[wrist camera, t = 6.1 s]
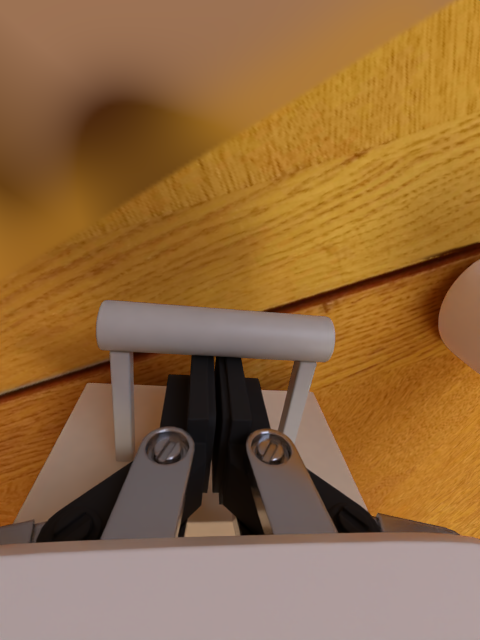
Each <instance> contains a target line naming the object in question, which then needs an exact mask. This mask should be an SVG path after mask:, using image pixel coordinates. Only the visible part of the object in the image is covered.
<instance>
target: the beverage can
mask: <svg viewBox="0 0 480 640" xmlns="http://www.w3.org/2000/svg"><path fill="white" fill-rule="evenodd" d="M438 327H439V333H440V337H441V339H442V341H443V343H444V344H445V345H446V346H447V348H448V349H449V350H450V351H451V352H453V353H454V354H455V355H456V356H457V357H458V358H460V359H461V360H462V361H463V362H465V363H466V364H467V365H468V366H470V367H471V368H472V369H473V370H475V371H476V372H477V373H479V374H480V259H479V260H477V261H476V262H475V263H473V264H472V265H471V266H470V267H468V268H467V269H466V270H465V271H464V272H463V273H462V274H461V275H460V276H459V277H458V278H457V279H456V281H455V282H454V283H453V285H452V286H451V287H450V289H449V291H448V292H447V294H446V296H445V298H444V300H443V302H442V305H441V308H440V312H439V318H438Z"/></svg>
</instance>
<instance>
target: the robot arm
mask: <svg viewBox="0 0 480 640" xmlns="http://www.w3.org/2000/svg"><path fill="white" fill-rule="evenodd" d="M211 460H212V492H213V493H219V505H223V506H225V507H226V508H227V509H228V510H229V511H230V512H231V513H232V514H233V515H232V520H233V527H234V531H235V536H210V537H185V536H186V531H187V525H188V518H189V517H190V516H191V515H192V514H193V513H194V512H195V511H196V510H197V509H198V508H199V507H200V506H201V503H202V495H203V493H207V491H208V484H209V476H210V468H211ZM0 640H480V539H478V538H474V537H468V536H461V535H459V534H458V533H456V532H455V531H453V530H450V529H447V528H445V527H440V526H435V525H431V524H426V523H422V522H417V521H412V520H408V519H403V518H399V517H394V516H389V515H385V514H380V513H378V514H377V516H376V517H374V516H371V515H370V513H369V512H368V511H366V510H365V509H364V508H363V507H362V506H360V505H359V504H357V503H356V502H355V501H353V500H352V499H350V498H349V497H347V496H346V495H345V494H343V493H342V492H340V491H339V490H337V489H336V488H334V487H333V486H332V485H330V484H329V483H327V482H326V481H324V480H323V479H322V478H320V477H319V476H317V475H316V474H314V473H313V472H311V471H310V470H309V469H307V468H306V467H305V465H304V463H303V461H302V459H301V457H300V455H299V453H298V451H297V449H296V447H295V445H294V443H293V442H292V440H291V439H290V438H289V437H288V436H286V435H285V434H283V433H282V432H280V431H277V430H273V429H271V428H270V424H269V420H268V415H267V411H266V407H265V403H264V399H263V395H262V391H261V387H260V383H259V380H258V379H257V378H245V377H244V371H243V366H242V360H241V358H237V357H219V356H216V362H215V371H214V356H200V355H192V359H191V372H190V375H171V374H169V375H168V381H167V387H166V393H165V399H164V405H163V410H162V416H161V422H160V428H157V429H155V430H153V431H151V432H150V433H149V434H147V435H146V436H145V437H144V439H143V440H142V442H141V444H140V446H139V448H138V451H137V453H136V456H135V458H134V460H133V461H132V462H130V463H129V464H127V465H126V466H124V467H123V468H121V469H120V470H118V471H117V472H115V473H114V474H112V475H111V476H109V477H108V478H106V479H105V480H103V481H102V482H100V483H99V484H97V485H96V486H95V487H93V488H92V489H90V490H89V491H87V492H86V493H84V494H83V495H81V496H80V497H78V498H77V499H75V500H74V501H72V502H71V503H69V504H68V505H66V506H65V507H63V508H62V509H60V510H59V511H58V512H56V513H55V514H54V515H53V516H52V517H50V518H49V519H48V521H45V522H41V523H36V524H35V520H34V519H33V520H29V521H24V522H20V523H15V524H11V525H6V526H2V527H0Z"/></svg>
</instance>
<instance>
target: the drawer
mask: <svg viewBox="0 0 480 640" xmlns="http://www.w3.org/2000/svg"><path fill="white" fill-rule="evenodd" d="M96 339H97V344H98V347H99V348H100V349H101V350H109V351H110V369H111V384H103V383H87V384H86V386H85V388H84V390H83V392H82V394H81V396H80V398H79V400H78V401H77V403H76V405H75V407H74V409H73V411H72V413H71V415H70V417H69V419H68V420H67V422H66V424H65V426H64V428H63V430H62V432H61V434H60V436H59V437H58V439H57V441H56V443H55V445H54V447H53V449H52V451H51V453H50V455H49V456H48V458H47V460H46V462H45V464H44V466H43V468H42V470H41V472H40V473H39V475H38V477H37V479H36V481H35V483H34V485H33V487H32V489H31V491H30V492H29V494H28V496H27V498H26V500H25V502H24V504H23V506H22V508H21V509H20V511H19V513H18V515H17V517H16V519H15V521H14V523H13V524H15V523H20V522H24V521H29V520H33V519H34V520H35V524H36V523H41V522H45V521H48V519H49V518H50V517H52V516H53V515H54V514H55V513H56V512H58V511H59V510H60V509H62V508H63V507H65V506H66V505H68V504H69V503H71V502H72V501H74V500H75V499H77V498H78V497H80V496H81V495H83V494H84V493H86V492H87V491H89V490H90V489H92V488H93V487H95V486H96V485H97V484H99V483H100V482H102V481H103V480H105V479H106V478H108V477H109V476H111V475H112V474H114V473H115V472H117V471H118V470H120V469H121V468H123V467H124V466H126V465H127V464H129V463H130V462H132V461H133V460H134V458H135V456H136V453H137V451H138V448H139V446H140V444H141V442H142V440H143V439H144V437H145V436H146V435H147V434H149V433H150V432H151V431H153V430H155V429H157V428H160V422H161V416H162V410H163V405H164V399H165V393H166V387H167V386H152V385H134V373H133V352H145V353H164V354H182V355H200V356H219V357H237V358H255V359H274V360H292V361H294V365H293V369H292V373H291V377H290V381H289V386H288V390H287V391H276V390H261V391H262V395H263V399H264V403H265V407H266V411H267V415H268V420H269V424H270V428H271V429H273V430H277V431H280V432H282V433H283V434H285V435H286V436H288V437H289V438H290V439H291V440H292V442H293V443H294V445H295V447H296V449H297V451H298V453H299V455H300V457H301V459H302V461H303V463H304V465H305V467H306V468H307V469H309V470H310V471H311V472H313V473H314V474H316V475H317V476H319V477H320V478H322V479H323V480H324V481H326V482H327V483H329V484H330V485H332V486H333V487H334V488H336V489H337V490H339V491H340V492H342V493H343V494H345V495H346V496H347V497H349V498H350V499H352V500H353V501H355V502H356V503H357V504H359V505H360V506H362V507H363V508H364V509H365V510H366V511H368V510H367V508H366V506H365V503H364V501H363V499H362V497H361V495H360V493H359V490H358V488H357V486H356V484H355V482H354V480H353V478H352V475H351V473H350V471H349V469H348V467H347V465H346V462H345V460H344V458H343V456H342V454H341V452H340V449H339V447H338V445H337V443H336V441H335V439H334V437H333V434H332V432H331V430H330V428H329V426H328V424H327V421H326V419H325V417H324V415H323V413H322V411H321V408H320V406H319V404H318V402H317V400H316V398H315V396H314V393H313V392H309V389H310V386H311V382H312V378H313V375H314V371H315V368H316V362H326V361H328V360H329V359H330V357H331V356H332V353H333V350H334V345H335V330H334V325H333V323H332V321H331V319H330V318H328V317H325V316H312V315H298V314H285V313H272V312H259V311H246V310H233V309H219V308H206V307H193V306H180V305H167V304H154V303H141V302H127V301H114V300H105V301H103V302H102V304H101V306H100V309H99V312H98V316H97V323H96ZM232 515H233V514H232V513H231V512H230V511H229V510H228V509H227V508H226V507H225V506H223V505H219V493H213V492H212V460H211V468H210V476H209V484H208V491H207V493H203V495H202V503H201V506H200V507H199V508H198V509H197V510H196V511H195V512H194V513H193V514H192V515H191V516H190V517H189V518H188V525H187V531H186V536H185V537H210V536H235V531H234V527H233V520H232Z"/></svg>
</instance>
